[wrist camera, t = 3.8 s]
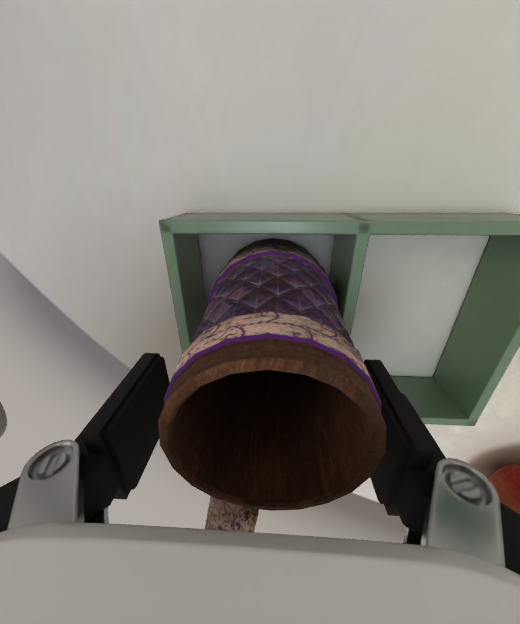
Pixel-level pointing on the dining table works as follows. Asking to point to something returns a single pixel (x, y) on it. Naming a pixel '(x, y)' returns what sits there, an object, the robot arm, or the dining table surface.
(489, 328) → the divided box
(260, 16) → the dining table surface
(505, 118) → the dining table surface
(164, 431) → the mug
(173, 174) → the dining table surface
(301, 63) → the dining table surface
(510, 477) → the fruit
